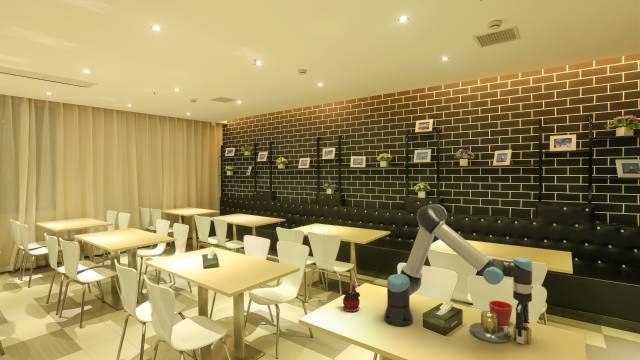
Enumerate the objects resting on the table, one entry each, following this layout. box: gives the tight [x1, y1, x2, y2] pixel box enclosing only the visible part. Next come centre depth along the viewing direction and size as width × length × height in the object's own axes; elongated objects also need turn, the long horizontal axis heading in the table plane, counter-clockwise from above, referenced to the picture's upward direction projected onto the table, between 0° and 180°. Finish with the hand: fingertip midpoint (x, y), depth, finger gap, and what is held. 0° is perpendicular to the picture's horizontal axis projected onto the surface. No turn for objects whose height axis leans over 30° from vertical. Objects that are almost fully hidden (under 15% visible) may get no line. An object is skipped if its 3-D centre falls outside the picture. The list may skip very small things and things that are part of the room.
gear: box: [512, 323, 532, 345], centre depth 155 cm, size 7×7×6 cm
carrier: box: [469, 309, 512, 344], centre depth 163 cm, size 18×20×8 cm
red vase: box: [342, 278, 361, 312], centre depth 193 cm, size 11×9×18 cm
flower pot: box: [488, 300, 513, 327], centre depth 174 cm, size 11×11×10 cm
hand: (522, 339), depth 156 cm, fingers closed on gear, 7 cm apart
